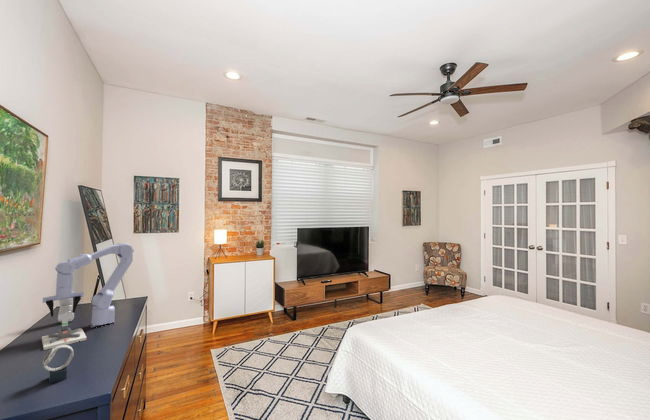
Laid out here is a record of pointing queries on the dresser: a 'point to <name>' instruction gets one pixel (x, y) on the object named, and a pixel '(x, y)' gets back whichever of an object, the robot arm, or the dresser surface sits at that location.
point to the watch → (59, 371)
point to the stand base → (63, 338)
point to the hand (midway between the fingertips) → (63, 314)
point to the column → (65, 317)
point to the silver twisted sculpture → (66, 307)
